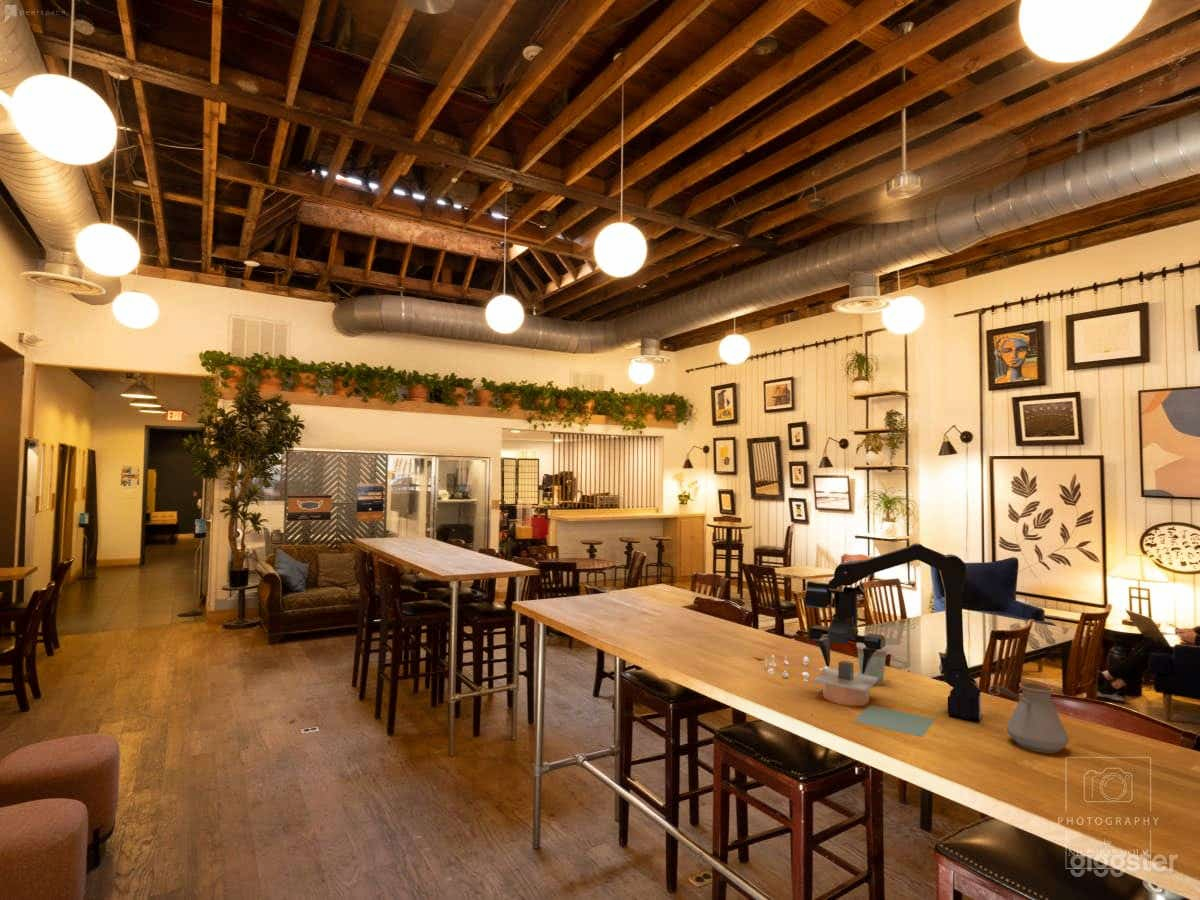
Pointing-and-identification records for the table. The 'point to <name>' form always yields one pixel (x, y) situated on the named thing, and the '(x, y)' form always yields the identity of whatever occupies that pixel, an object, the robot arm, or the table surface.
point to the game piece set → (805, 662)
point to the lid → (846, 677)
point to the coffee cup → (873, 663)
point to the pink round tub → (845, 695)
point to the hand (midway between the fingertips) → (845, 669)
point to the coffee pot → (1035, 719)
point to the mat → (895, 721)
